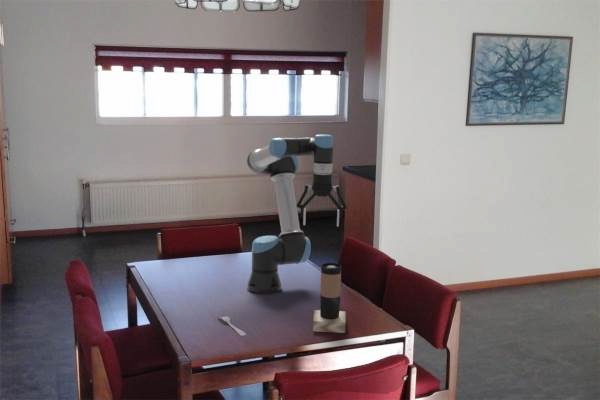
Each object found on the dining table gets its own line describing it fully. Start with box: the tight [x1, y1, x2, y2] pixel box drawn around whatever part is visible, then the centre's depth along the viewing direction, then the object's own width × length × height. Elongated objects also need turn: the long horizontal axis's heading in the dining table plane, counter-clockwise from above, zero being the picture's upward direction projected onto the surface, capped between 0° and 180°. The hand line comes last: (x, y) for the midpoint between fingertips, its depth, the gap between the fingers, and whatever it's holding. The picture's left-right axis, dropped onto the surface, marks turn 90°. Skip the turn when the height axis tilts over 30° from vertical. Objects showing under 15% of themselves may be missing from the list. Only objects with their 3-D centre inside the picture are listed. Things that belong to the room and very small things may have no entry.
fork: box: [220, 316, 247, 336], centre depth 240 cm, size 3×21×3 cm, turn 33°
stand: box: [312, 309, 347, 334], centre depth 242 cm, size 12×12×4 cm
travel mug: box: [319, 262, 342, 319], centre depth 240 cm, size 8×8×20 cm
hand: (321, 225), depth 257 cm, fingers open, 13 cm apart
